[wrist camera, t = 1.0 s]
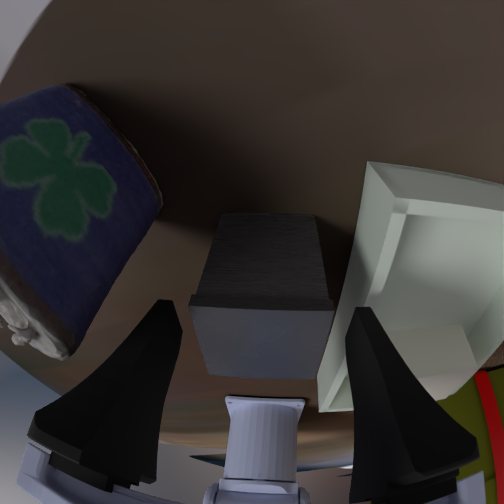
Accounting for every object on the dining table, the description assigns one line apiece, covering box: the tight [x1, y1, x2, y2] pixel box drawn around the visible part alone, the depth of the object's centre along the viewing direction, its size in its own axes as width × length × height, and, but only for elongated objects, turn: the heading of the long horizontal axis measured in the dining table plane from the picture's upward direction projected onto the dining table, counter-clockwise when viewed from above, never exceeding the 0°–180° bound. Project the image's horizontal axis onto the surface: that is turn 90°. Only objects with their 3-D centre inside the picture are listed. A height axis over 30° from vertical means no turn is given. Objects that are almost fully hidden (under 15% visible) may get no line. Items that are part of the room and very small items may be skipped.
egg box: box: [385, 324, 478, 401], centre depth 17 cm, size 5×8×4 cm, turn 92°
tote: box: [317, 161, 504, 412], centre depth 15 cm, size 18×13×4 cm
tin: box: [188, 213, 335, 379], centre depth 12 cm, size 5×5×6 cm
